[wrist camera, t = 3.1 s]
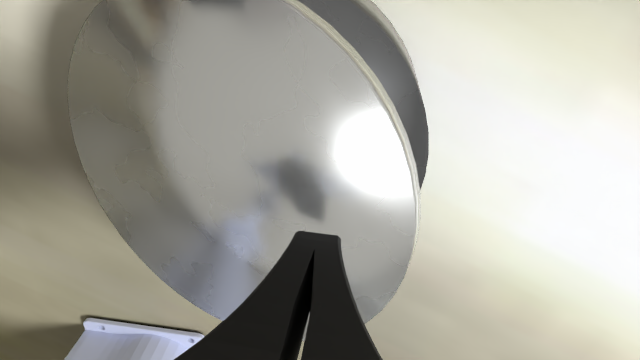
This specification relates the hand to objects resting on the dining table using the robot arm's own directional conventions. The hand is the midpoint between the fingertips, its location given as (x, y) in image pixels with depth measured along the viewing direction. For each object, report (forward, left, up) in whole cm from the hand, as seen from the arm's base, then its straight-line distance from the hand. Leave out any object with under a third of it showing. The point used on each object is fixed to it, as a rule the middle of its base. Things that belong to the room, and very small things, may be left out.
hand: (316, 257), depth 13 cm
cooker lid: (-4, +2, -4) cm, 6 cm away
